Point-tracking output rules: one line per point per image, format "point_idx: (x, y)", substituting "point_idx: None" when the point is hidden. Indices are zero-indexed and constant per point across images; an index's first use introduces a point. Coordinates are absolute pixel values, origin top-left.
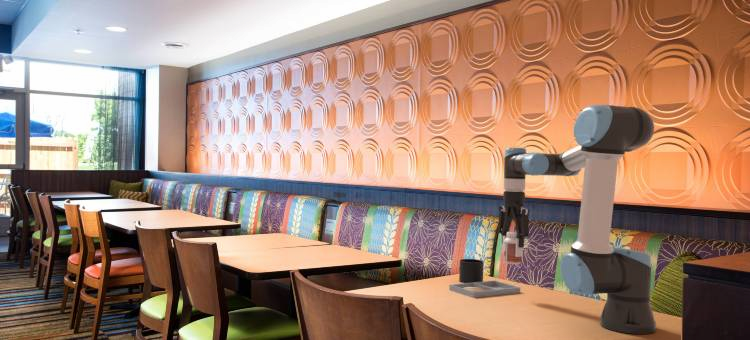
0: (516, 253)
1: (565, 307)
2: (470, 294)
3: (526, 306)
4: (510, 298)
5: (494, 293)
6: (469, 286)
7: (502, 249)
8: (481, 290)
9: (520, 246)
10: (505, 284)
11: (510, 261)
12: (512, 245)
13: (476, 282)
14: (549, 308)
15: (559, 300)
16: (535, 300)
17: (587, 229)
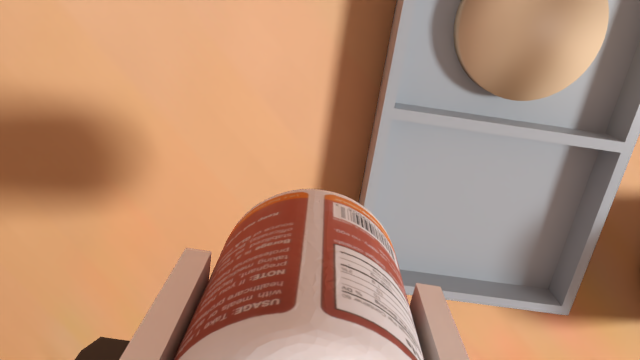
0: (180, 268)
1: (9, 213)
2: None
3: (109, 46)
4: (303, 135)
5: (384, 83)
6: (623, 106)
7: (450, 317)
8: (469, 42)
9: (92, 348)
10: (466, 291)
11: (266, 202)
12: (211, 316)
13: (617, 174)
14: (21, 122)
15: (141, 312)
16: (197, 213)
17: None
